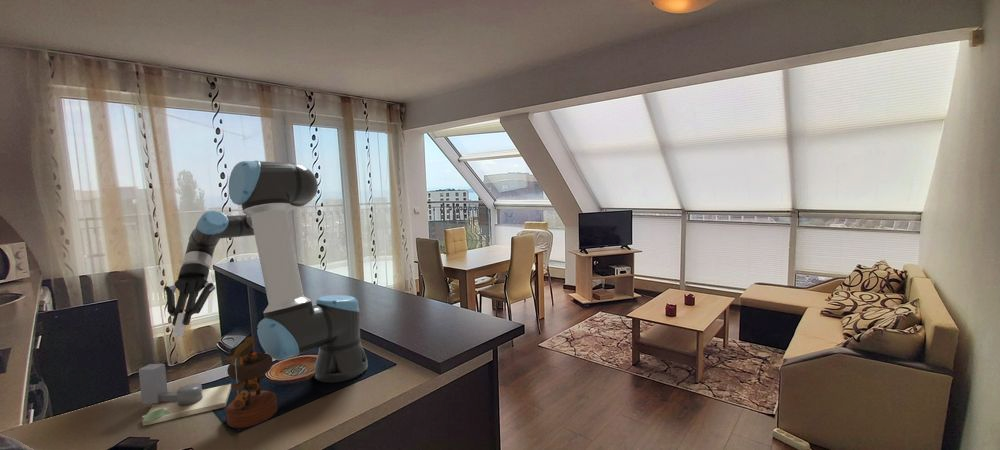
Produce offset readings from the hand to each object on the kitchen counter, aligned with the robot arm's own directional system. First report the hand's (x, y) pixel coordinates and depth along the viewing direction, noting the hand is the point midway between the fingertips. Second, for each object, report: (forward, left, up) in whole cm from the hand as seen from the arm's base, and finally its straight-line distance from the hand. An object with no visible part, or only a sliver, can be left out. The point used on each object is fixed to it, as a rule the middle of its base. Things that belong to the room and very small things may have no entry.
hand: (177, 335), depth 112 cm
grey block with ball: (-17, +5, -12) cm, 21 cm away
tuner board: (-20, +2, -13) cm, 24 cm away
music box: (-37, -7, -14) cm, 40 cm away
